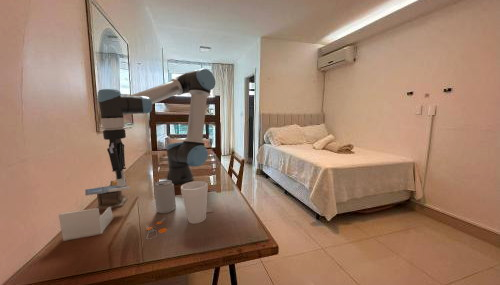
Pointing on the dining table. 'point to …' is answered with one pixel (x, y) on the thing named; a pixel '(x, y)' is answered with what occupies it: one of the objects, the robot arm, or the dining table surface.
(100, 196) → the fulcrum
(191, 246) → the dining table surface
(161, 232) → the key chain
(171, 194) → the can
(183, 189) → the foam cup
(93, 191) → the lever
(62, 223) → the white rectangular box
